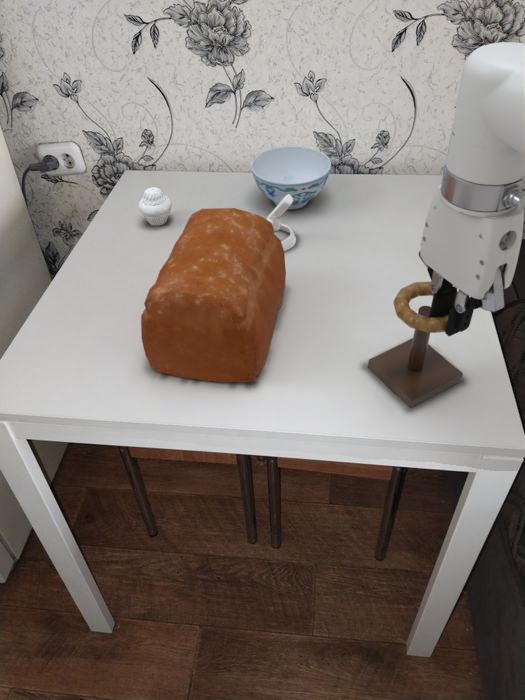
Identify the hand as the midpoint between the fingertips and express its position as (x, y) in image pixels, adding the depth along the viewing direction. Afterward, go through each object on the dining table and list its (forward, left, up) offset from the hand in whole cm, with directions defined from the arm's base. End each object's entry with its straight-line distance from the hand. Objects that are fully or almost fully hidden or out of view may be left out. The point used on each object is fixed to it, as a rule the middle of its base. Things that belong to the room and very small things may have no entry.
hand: (448, 323), depth 71 cm
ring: (+3, 0, 0) cm, 3 cm away
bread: (+28, +17, -12) cm, 35 cm away
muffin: (+60, +13, -12) cm, 63 cm away
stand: (+4, 0, -12) cm, 13 cm away
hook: (+42, -2, -12) cm, 44 cm away
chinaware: (+52, -12, -12) cm, 55 cm away
